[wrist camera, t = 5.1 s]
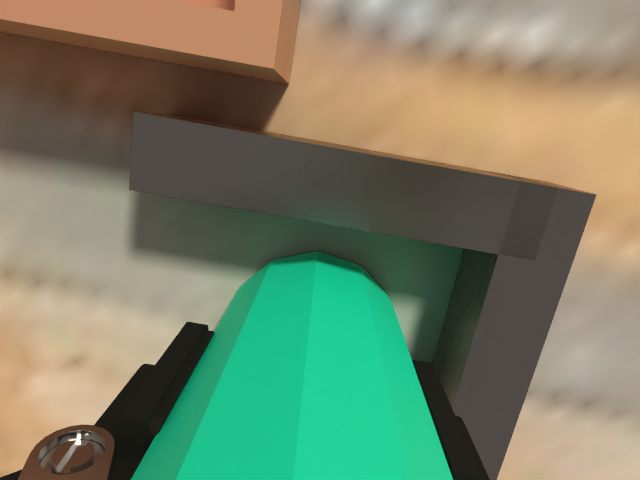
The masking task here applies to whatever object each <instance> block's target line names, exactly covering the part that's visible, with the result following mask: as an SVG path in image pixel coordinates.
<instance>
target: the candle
mask: <svg viewBox="0 0 640 480" xmlns="http://www.w3.org/2000/svg"><path fill="white" fill-rule="evenodd" d="M131 480H453V478H452V475H451V472H450V469H449V466H448V464H447V461H446V458H445V455H444V452H443V449H442V446H441V443H440V440H439V437H438V435H437V432H436V429H435V426H434V423H433V420H432V417H431V414H430V411H429V409H428V406H427V403H426V400H425V397H424V394H423V391H422V388H421V385H420V383H419V380H418V377H417V374H416V371H415V368H414V365H413V362H412V359H411V356H410V354H409V351H408V348H407V345H406V342H405V339H404V336H403V333H402V330H401V328H400V325H399V322H398V319H397V316H396V313H395V310H394V307H393V304H392V302H391V299H390V297H389V296H388V295H387V294H386V293H385V292H384V291H383V289H382V288H381V287H380V286H379V285H378V284H377V283H376V282H375V280H374V279H373V278H372V277H371V276H370V275H369V274H368V273H367V272H366V270H365V269H364V268H363V267H362V266H361V265H358V264H355V263H352V262H349V261H346V260H343V259H340V258H337V257H334V256H331V255H328V254H325V253H322V252H319V251H315V252H310V253H305V254H299V255H294V256H288V257H283V258H278V259H272V260H271V261H270V262H269V263H267V264H266V265H265V266H264V267H263V268H262V269H260V270H259V271H258V272H257V273H256V274H255V275H253V276H252V277H251V278H250V279H249V280H248V281H246V282H245V283H244V284H243V285H242V286H241V287H239V289H238V291H237V292H236V294H235V296H234V298H233V300H232V301H231V303H230V305H229V307H228V308H227V310H226V312H225V314H224V315H223V317H222V319H221V321H220V323H219V324H218V326H217V328H216V330H215V331H214V335H213V337H212V339H211V341H210V343H209V344H208V346H207V348H206V350H205V352H204V353H203V355H202V357H201V359H200V361H199V362H198V364H197V366H196V368H195V369H194V371H193V373H192V375H191V377H190V378H189V380H188V382H187V384H186V386H185V387H184V389H183V391H182V393H181V395H180V396H179V398H178V400H177V402H176V403H175V405H174V407H173V409H172V411H171V412H170V414H169V416H168V418H167V420H166V421H165V423H164V425H163V427H162V429H161V430H160V432H159V433H158V434H157V435H156V436H155V438H154V439H153V441H152V443H151V445H150V446H149V448H148V450H147V452H146V454H145V455H144V457H143V459H142V461H141V462H140V464H139V466H138V468H137V469H136V471H135V473H134V475H133V477H132V478H131Z"/></svg>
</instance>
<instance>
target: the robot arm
mask: <svg viewBox="0 0 640 480" xmlns="http://www.w3.org/2000/svg"><path fill="white" fill-rule="evenodd" d="M213 335H214V331H208V325H204V324H198V323H192V322H187V323H186V324H185V325H184V327H183V328H182V329H181V331H180V332H179V333H178V335H177V336H176V337H175V339H174V340H173V342H172V343H171V344H170V346H169V347H168V348H167V350H166V351H165V352H164V354H163V355H162V357H161V358H160V359H159V361H158V362H157V363H156V365H150V364H143V365H142V366H141V367H140V368H139V369H138V370H137V372H136V373H135V374H134V376H133V377H132V378H131V379H130V381H129V382H128V383H127V384H126V386H125V387H124V388H123V389H122V391H121V392H120V393H119V394H118V396H117V397H116V398H115V400H114V401H113V402H112V403H111V405H110V406H109V407H108V408H107V410H106V411H105V412H104V413H103V415H102V416H101V417H100V418H99V420H98V421H97V422H96V424H95V425H77V426H70V427H67V428H64V429H61V430H57V431H56V432H54V433H52V434H50V435H48V436H46V437H45V438H44V439H42V440H41V441H40V442H39V443H38V444H36V446H35V447H34V449H33V450H32V451H31V453H30V455H29V457H28V459H27V461H26V463H25V465H24V467H23V469H22V470H20V471H17V472H14V473H12V474H9V475H6V476H3V477H1V478H0V480H131V478H132V477H133V475H134V473H135V471H136V469H137V468H138V466H139V464H140V462H141V461H142V459H143V457H144V455H145V454H146V452H147V450H148V448H149V446H150V445H151V443H152V441H153V439H154V438H155V436H156V435H157V434H158V433H159V432H160V430H161V429H162V427H163V425H164V423H165V421H166V420H167V418H168V416H169V414H170V412H171V411H172V409H173V407H174V405H175V403H176V402H177V400H178V398H179V396H180V395H181V393H182V391H183V389H184V387H185V386H186V384H187V382H188V380H189V378H190V377H191V375H192V373H193V371H194V369H195V368H196V366H197V364H198V362H199V361H200V359H201V357H202V355H203V353H204V352H205V350H206V348H207V346H208V344H209V343H210V341H211V339H212V337H213ZM412 362H413V365H414V368H415V371H416V374H417V377H418V380H419V383H420V385H421V388H422V391H423V394H424V397H425V400H426V403H427V406H428V409H429V411H430V414H431V417H432V420H433V423H434V426H435V429H436V432H437V435H438V437H439V440H440V443H441V446H442V449H443V452H444V455H445V458H446V461H447V464H448V466H449V469H450V472H451V475H452V478H453V480H490V479H489V477H488V474H487V472H486V470H485V468H484V466H483V463H482V461H481V459H480V457H479V454H478V452H477V450H476V448H475V446H474V443H473V441H472V439H471V437H470V434H469V432H468V430H467V428H466V426H465V423H464V421H463V420H462V418H461V417H459V416H456V415H455V414H454V411H453V409H452V407H451V404H450V402H449V400H448V397H447V395H446V393H445V391H444V388H443V386H442V384H441V381H440V379H439V377H438V374H437V372H436V370H435V367H434V365H433V364H432V363H428V362H422V361H417V360H412Z"/></svg>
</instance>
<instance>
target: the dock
mask: <svg viewBox="0 0 640 480" xmlns="http://www.w3.org/2000/svg"><path fill="white" fill-rule="evenodd" d="M129 190H134V191H140V192H145V193H151V194H157V195H162V196H168V197H174V198H180V199H185V200H191V201H197V202H202V203H208V204H214V205H220V206H225V207H231V208H237V209H242V210H248V211H254V212H259V213H265V214H271V215H277V216H282V217H288V218H294V219H299V220H305V221H311V222H316V223H322V224H328V225H334V226H339V227H345V228H351V229H356V230H362V231H368V232H373V233H379V234H385V235H391V236H396V237H402V238H408V239H413V240H419V241H425V242H431V243H436V244H442V245H448V246H453V247H459V248H465V249H464V253H463V256H462V260H461V264H460V267H459V271H458V275H457V278H456V282H455V285H454V289H453V293H452V296H451V300H450V304H449V307H448V311H447V314H446V318H445V322H444V325H443V329H442V332H441V336H440V340H439V343H438V347H437V351H436V354H435V358H434V361H433V365H434V367H435V370H436V372H437V374H438V377H439V379H440V381H441V384H442V386H443V388H444V391H445V393H446V395H447V397H448V400H449V402H450V404H451V407H452V409H453V411H454V414H455V415H456V416H459V417H461V418H462V420H463V421H464V423H465V426H466V428H467V430H468V432H469V434H470V437H471V439H472V441H473V443H474V446H475V448H476V450H477V452H478V454H479V457H480V459H481V461H482V463H483V466H484V468H485V470H486V472H487V474H488V477H489V479H490V480H497V477H498V474H499V471H500V468H501V465H502V463H503V460H504V457H505V454H506V451H507V448H508V445H509V443H510V440H511V437H512V434H513V431H514V428H515V425H516V423H517V420H518V417H519V414H520V411H521V408H522V405H523V403H524V400H525V397H526V394H527V391H528V388H529V385H530V383H531V380H532V377H533V374H534V371H535V368H536V365H537V363H538V360H539V357H540V354H541V351H542V348H543V345H544V343H545V340H546V337H547V334H548V331H549V328H550V325H551V323H552V320H553V317H554V314H555V311H556V308H557V305H558V303H559V300H560V297H561V294H562V291H563V288H564V286H565V283H566V280H567V277H568V274H569V271H570V268H571V266H572V263H573V260H574V257H575V254H576V251H577V248H578V246H579V243H580V240H581V237H582V234H583V231H584V228H585V226H586V223H587V220H588V217H589V214H590V211H591V208H592V206H593V203H594V200H595V197H596V194H592V193H588V192H584V191H580V190H576V189H572V188H569V187H565V186H561V185H557V184H553V183H549V182H544V181H539V180H533V179H527V178H522V177H516V176H511V175H505V174H500V173H494V172H488V171H483V170H477V169H472V168H466V167H460V166H455V165H449V164H444V163H438V162H433V161H427V160H421V159H416V158H410V157H405V156H399V155H393V154H388V153H382V152H377V151H371V150H366V149H360V148H354V147H349V146H343V145H338V144H332V143H326V142H321V141H315V140H310V139H304V138H299V137H293V136H287V135H282V134H276V133H271V132H265V131H259V130H254V129H248V128H243V127H237V126H232V125H226V124H220V123H215V122H209V121H204V120H198V119H192V118H187V117H181V116H176V115H170V114H156V113H143V112H133V129H132V148H131V166H130V185H129Z"/></svg>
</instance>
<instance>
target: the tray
mask: <svg viewBox="0 0 640 480" xmlns="http://www.w3.org/2000/svg"><path fill="white" fill-rule="evenodd" d="M300 5H301V0H0V32H5V33H11V34H16V35H22V36H27V37H33V38H38V39H44V40H49V41H55V42H60V43H66V44H71V45H77V46H82V47H88V48H94V49H99V50H105V51H110V52H116V53H121V54H127V55H132V56H138V57H143V58H149V59H154V60H160V61H165V62H171V63H176V64H182V65H187V66H193V67H198V68H204V69H209V70H215V71H220V72H226V73H231V74H237V75H242V76H248V77H253V78H259V79H264V80H270V81H275V82H281V83H286V84H289V81H290V74H291V67H292V60H293V53H294V47H295V40H296V33H297V26H298V19H299V12H300Z"/></svg>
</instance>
